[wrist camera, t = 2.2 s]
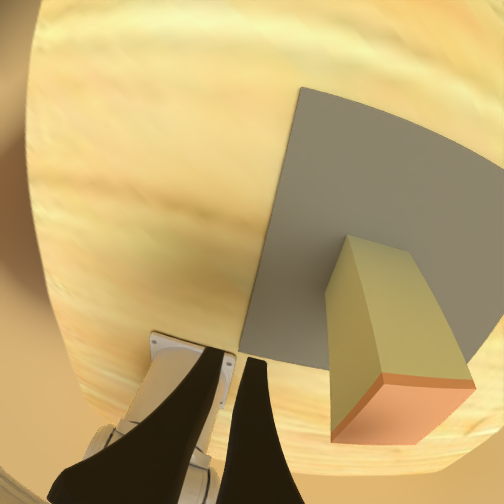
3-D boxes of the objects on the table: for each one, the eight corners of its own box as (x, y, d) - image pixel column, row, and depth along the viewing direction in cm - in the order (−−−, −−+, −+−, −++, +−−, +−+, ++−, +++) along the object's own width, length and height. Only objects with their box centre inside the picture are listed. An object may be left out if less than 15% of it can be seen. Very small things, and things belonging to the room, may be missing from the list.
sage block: (382, 305, 20) (415, 444, 10) (324, 292, 20) (330, 442, 10) (408, 252, 17) (476, 389, 8) (347, 234, 18) (384, 383, 8)
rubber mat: (448, 379, 23) (449, 383, 23) (239, 346, 24) (238, 351, 24) (552, 204, 14) (556, 206, 13) (301, 87, 14) (301, 86, 14)
